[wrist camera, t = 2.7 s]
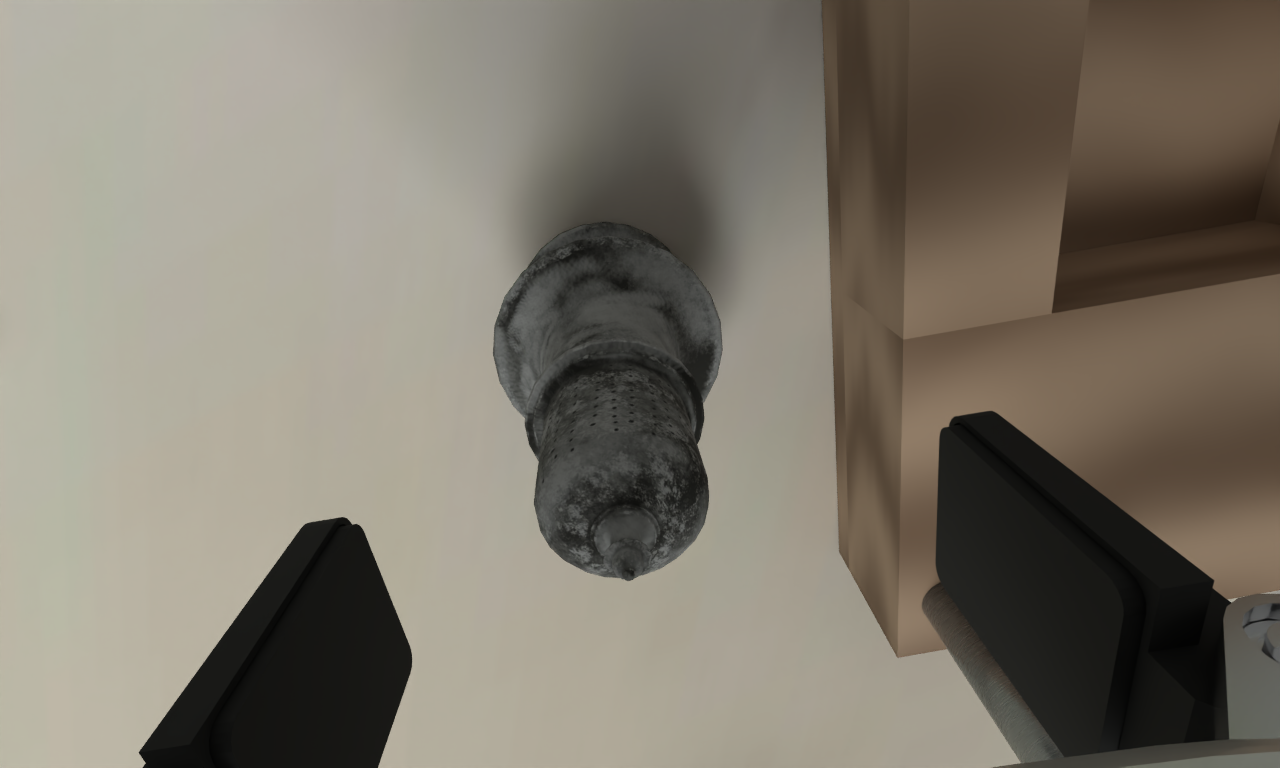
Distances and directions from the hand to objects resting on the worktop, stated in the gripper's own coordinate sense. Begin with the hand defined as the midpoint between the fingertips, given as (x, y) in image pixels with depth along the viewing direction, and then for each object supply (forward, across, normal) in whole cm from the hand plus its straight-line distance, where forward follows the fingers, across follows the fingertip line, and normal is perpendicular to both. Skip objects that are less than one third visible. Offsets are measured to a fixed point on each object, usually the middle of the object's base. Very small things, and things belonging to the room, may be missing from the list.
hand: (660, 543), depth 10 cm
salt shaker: (+11, +1, -1) cm, 11 cm away
